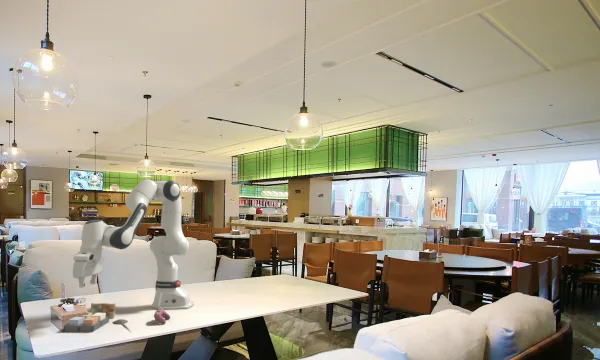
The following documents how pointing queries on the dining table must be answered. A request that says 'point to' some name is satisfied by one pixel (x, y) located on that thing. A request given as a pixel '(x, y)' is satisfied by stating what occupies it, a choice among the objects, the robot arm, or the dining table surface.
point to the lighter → (67, 301)
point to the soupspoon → (122, 321)
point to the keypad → (85, 326)
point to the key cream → (99, 316)
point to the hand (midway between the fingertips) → (87, 285)
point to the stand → (103, 309)
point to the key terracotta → (90, 321)
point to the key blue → (76, 321)
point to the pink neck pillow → (161, 316)
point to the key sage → (87, 315)
